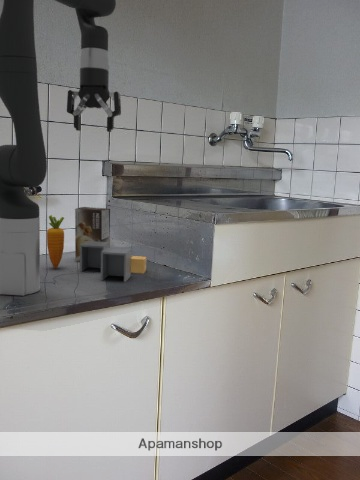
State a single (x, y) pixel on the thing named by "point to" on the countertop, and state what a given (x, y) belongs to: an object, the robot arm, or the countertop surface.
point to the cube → (138, 264)
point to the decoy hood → (91, 254)
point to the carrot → (55, 241)
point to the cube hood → (116, 263)
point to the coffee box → (91, 226)
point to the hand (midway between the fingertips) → (93, 131)
